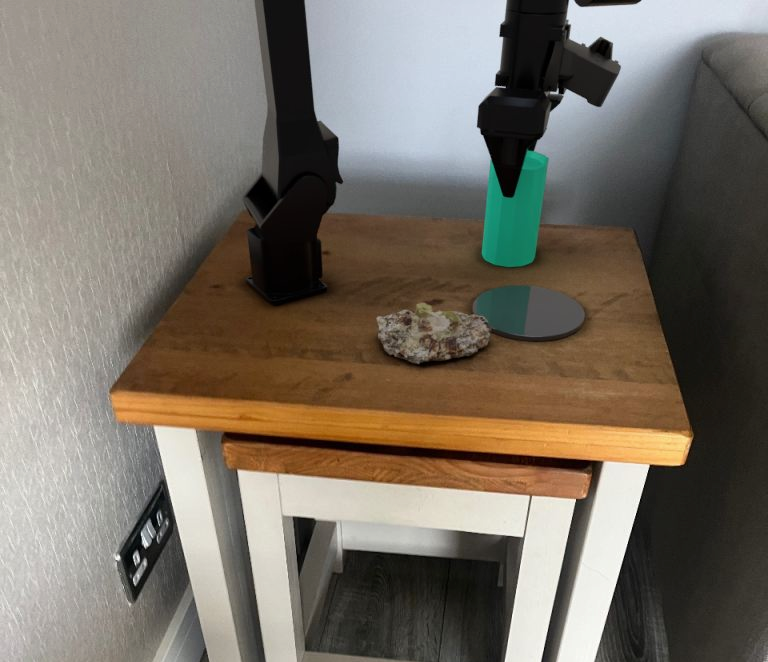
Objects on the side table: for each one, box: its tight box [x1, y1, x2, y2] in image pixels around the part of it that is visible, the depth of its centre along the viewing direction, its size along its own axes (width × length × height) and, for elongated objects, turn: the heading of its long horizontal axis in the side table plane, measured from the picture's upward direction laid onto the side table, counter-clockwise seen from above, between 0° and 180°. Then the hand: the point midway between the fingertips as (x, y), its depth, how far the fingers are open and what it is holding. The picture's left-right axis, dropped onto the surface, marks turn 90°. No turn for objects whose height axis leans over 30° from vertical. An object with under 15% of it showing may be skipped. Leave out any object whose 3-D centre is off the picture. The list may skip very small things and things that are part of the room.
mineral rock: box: [375, 302, 492, 365], centre depth 72 cm, size 11×4×8 cm
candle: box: [481, 150, 550, 268], centre depth 84 cm, size 6×6×12 cm
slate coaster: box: [471, 285, 586, 342], centre depth 77 cm, size 11×11×1 cm
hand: (516, 182), depth 83 cm, fingers open, 9 cm apart
